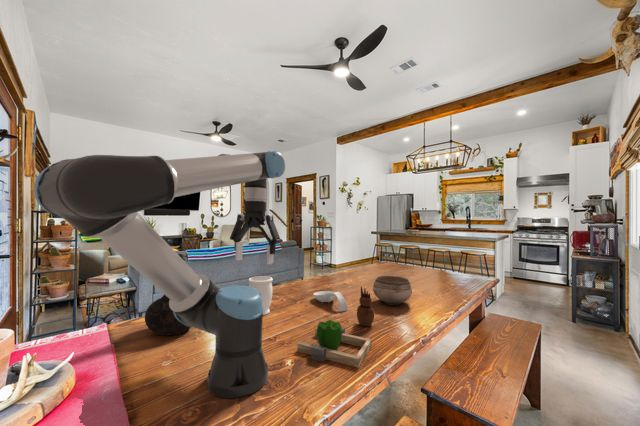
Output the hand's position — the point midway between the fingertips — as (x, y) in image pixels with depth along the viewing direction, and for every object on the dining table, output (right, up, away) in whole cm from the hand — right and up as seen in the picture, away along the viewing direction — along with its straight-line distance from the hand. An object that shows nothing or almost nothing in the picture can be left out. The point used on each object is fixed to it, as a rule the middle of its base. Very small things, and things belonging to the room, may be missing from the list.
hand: (254, 262), depth 95 cm
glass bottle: (-31, -26, +6) cm, 41 cm away
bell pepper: (+26, -27, -5) cm, 38 cm away
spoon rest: (+28, -28, +39) cm, 56 cm away
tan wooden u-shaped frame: (+28, -27, -6) cm, 39 cm away
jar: (-3, -27, +26) cm, 37 cm away
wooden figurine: (+41, -28, +14) cm, 51 cm away
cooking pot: (+59, -28, +42) cm, 78 cm away
